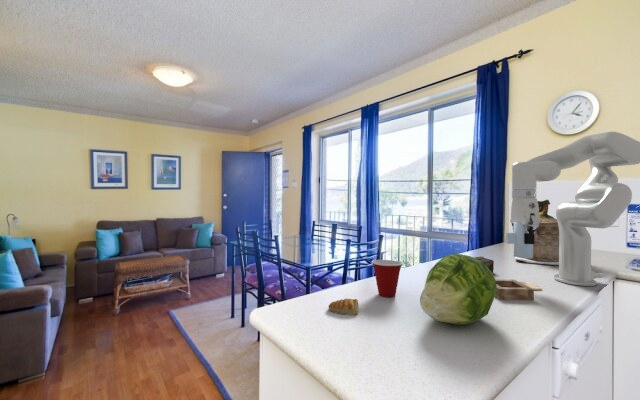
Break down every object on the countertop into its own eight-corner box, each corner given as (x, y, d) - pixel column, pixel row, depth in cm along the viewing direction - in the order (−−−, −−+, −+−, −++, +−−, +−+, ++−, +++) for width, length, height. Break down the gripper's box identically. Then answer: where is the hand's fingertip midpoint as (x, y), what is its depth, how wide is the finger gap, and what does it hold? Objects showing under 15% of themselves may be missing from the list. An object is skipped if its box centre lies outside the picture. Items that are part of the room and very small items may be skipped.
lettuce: (399, 314, 85) (399, 260, 80) (449, 288, 96) (452, 238, 91) (456, 356, 70) (461, 291, 65) (508, 319, 81) (516, 261, 76)
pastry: (327, 315, 85) (327, 302, 85) (329, 306, 92) (329, 294, 92) (359, 316, 84) (359, 303, 84) (358, 307, 91) (358, 295, 91)
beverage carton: (494, 273, 127) (494, 258, 127) (459, 277, 121) (459, 262, 121) (480, 268, 135) (480, 255, 134) (446, 272, 129) (446, 258, 129)
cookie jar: (568, 258, 153) (568, 198, 153) (579, 268, 132) (579, 199, 132) (512, 253, 166) (513, 198, 166) (515, 262, 145) (515, 199, 145)
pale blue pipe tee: (539, 258, 104) (540, 223, 104) (511, 258, 105) (511, 223, 105) (529, 255, 110) (529, 221, 110) (502, 254, 111) (502, 221, 111)
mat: (528, 283, 112) (528, 281, 112) (542, 290, 104) (542, 288, 104) (506, 283, 112) (506, 281, 112) (518, 289, 104) (518, 288, 104)
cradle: (514, 288, 106) (514, 279, 105) (533, 300, 95) (533, 289, 95) (483, 288, 107) (483, 279, 106) (498, 299, 96) (498, 288, 96)
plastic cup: (405, 291, 104) (405, 259, 104) (400, 302, 94) (400, 265, 94) (375, 287, 109) (375, 256, 108) (368, 297, 99) (367, 262, 99)
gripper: (550, 194, 98) (550, 246, 99) (520, 194, 116) (520, 239, 116) (527, 194, 99) (527, 246, 99) (500, 194, 116) (500, 238, 117)
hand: (523, 242), depth 108 cm, fingers closed on pale blue pipe tee, 6 cm apart
